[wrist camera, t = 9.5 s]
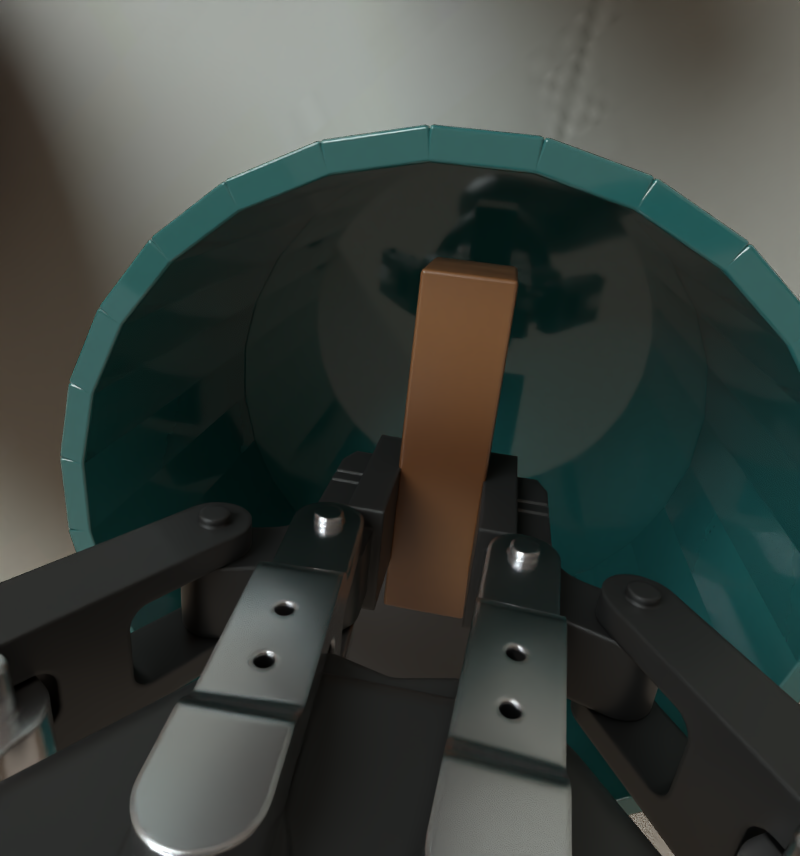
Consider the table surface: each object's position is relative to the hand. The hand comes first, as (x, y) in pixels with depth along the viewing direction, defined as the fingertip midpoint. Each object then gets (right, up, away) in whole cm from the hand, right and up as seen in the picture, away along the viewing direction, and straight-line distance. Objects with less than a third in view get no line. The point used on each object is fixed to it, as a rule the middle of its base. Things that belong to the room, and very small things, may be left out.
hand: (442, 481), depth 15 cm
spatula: (0, -1, +1) cm, 1 cm away
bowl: (+1, +2, +9) cm, 9 cm away
